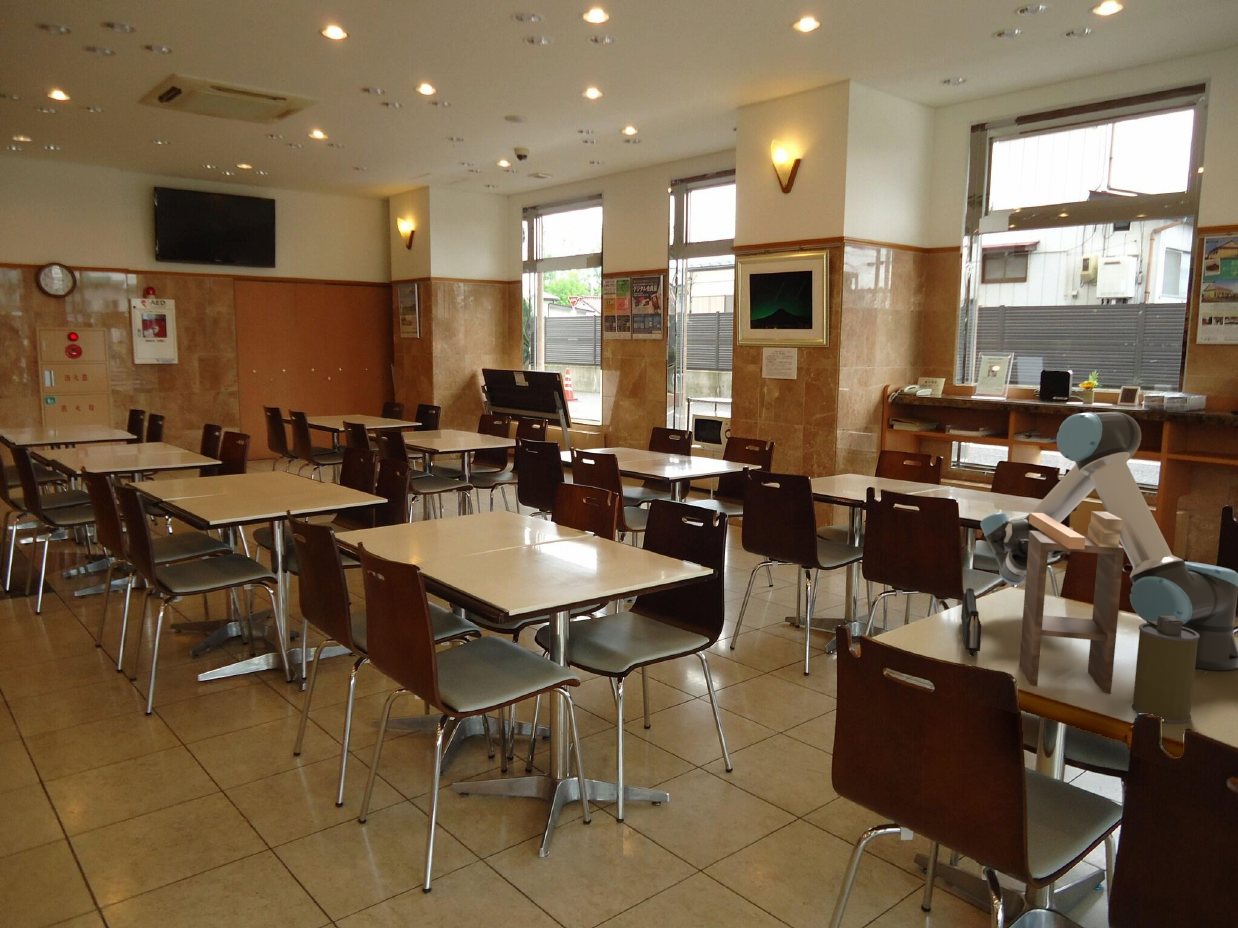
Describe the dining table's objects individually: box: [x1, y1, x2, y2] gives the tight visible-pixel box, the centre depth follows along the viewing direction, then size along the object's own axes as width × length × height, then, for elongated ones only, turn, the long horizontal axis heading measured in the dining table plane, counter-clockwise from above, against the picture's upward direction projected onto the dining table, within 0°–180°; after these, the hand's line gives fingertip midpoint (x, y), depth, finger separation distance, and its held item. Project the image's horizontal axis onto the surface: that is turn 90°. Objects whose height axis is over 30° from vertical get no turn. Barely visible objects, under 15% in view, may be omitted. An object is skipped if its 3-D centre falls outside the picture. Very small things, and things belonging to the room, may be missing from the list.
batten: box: [1028, 512, 1085, 549], centre depth 197 cm, size 28×3×2 cm, turn 171°
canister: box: [1131, 616, 1200, 724], centre depth 178 cm, size 11×10×20 cm
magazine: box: [960, 587, 982, 657], centre depth 223 cm, size 17×3×30 cm
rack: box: [1018, 510, 1125, 695], centre depth 195 cm, size 16×14×38 cm
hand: (1040, 530), depth 214 cm, fingers open, 13 cm apart
